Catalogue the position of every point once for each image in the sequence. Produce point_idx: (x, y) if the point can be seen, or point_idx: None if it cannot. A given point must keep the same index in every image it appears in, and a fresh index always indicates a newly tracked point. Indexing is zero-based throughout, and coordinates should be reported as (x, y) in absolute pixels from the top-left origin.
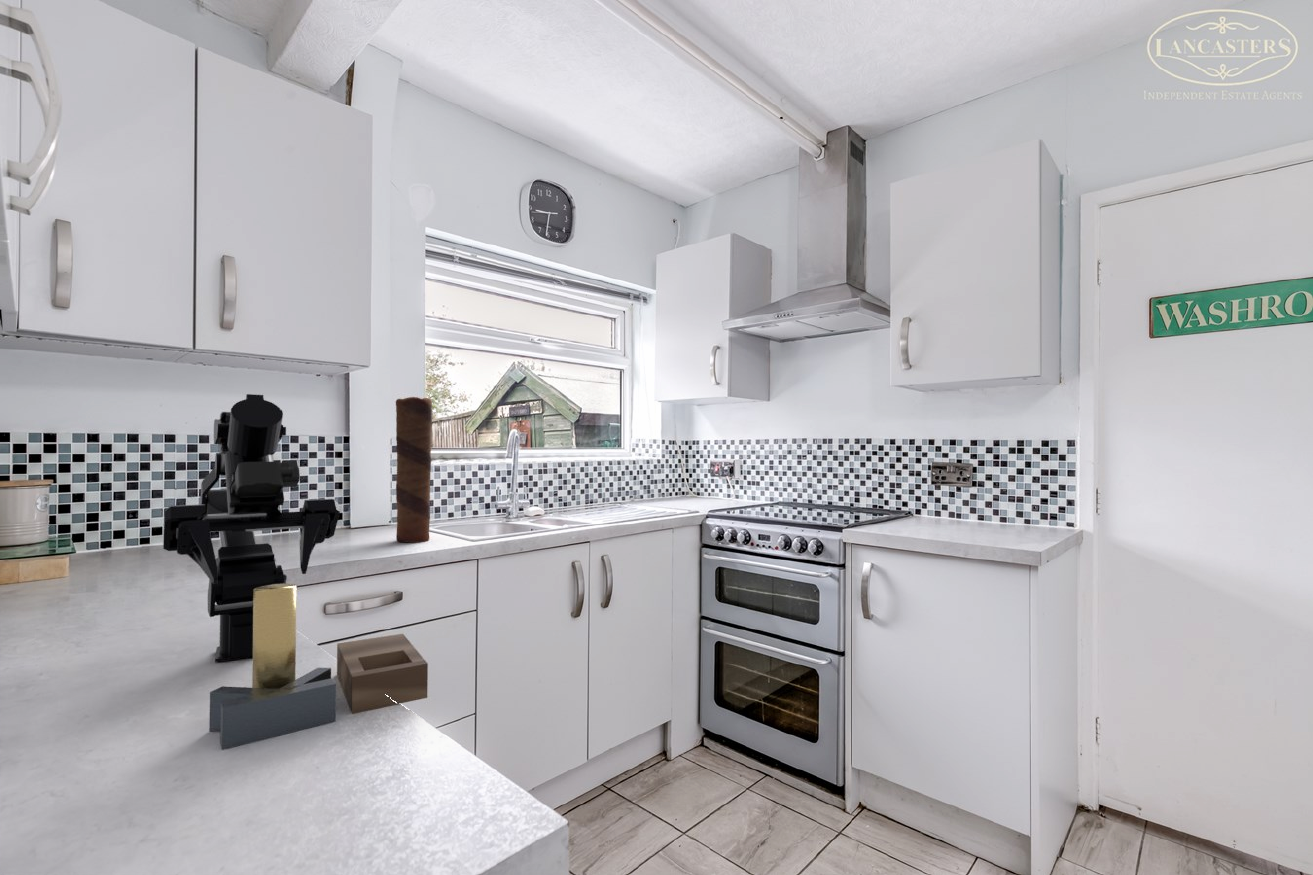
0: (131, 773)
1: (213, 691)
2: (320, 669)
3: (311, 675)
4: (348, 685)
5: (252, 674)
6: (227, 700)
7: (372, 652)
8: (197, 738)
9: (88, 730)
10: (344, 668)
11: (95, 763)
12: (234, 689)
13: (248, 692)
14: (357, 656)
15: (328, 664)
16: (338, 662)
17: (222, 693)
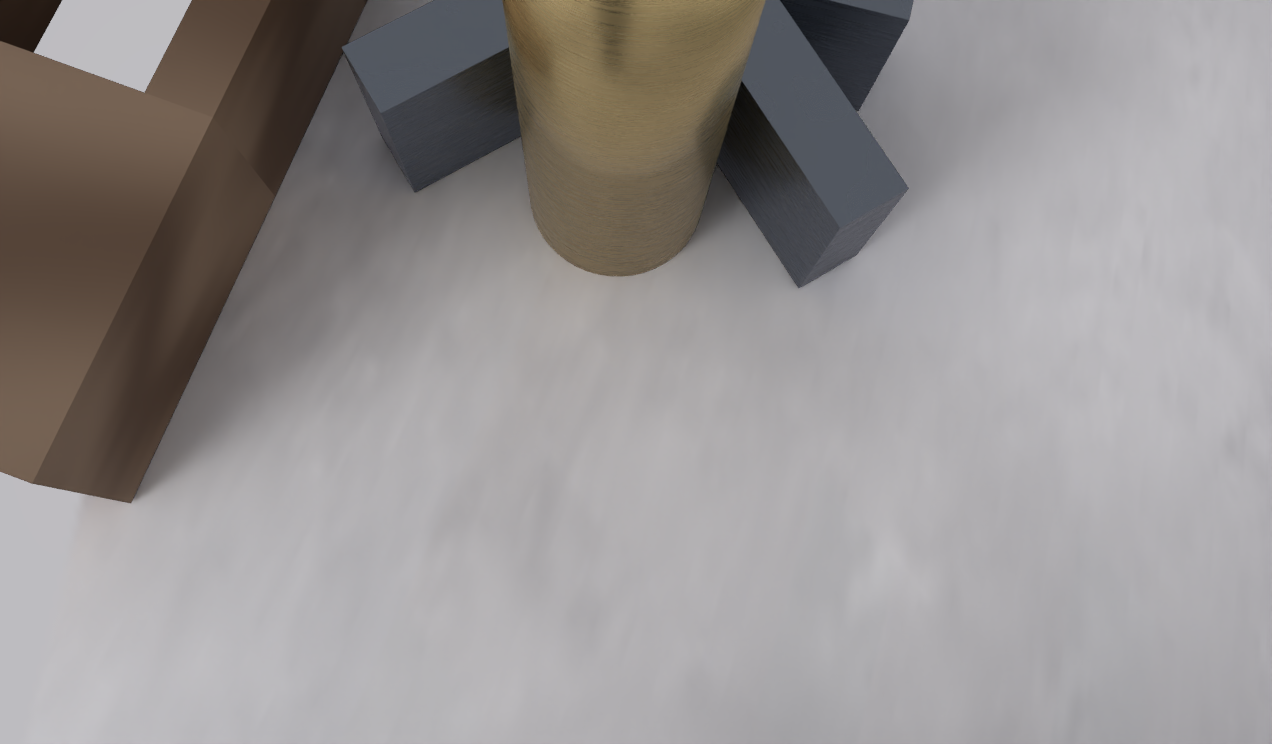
0: (1144, 98)
1: (893, 185)
2: (389, 72)
3: (469, 19)
4: (313, 18)
5: (726, 129)
6: (884, 7)
7: (30, 110)
8: (908, 222)
9: (1221, 715)
10: (229, 145)
11: (1228, 292)
12: (812, 134)
13: (781, 36)
14: (129, 117)
15: (47, 740)
16: (119, 426)
17: (866, 134)
